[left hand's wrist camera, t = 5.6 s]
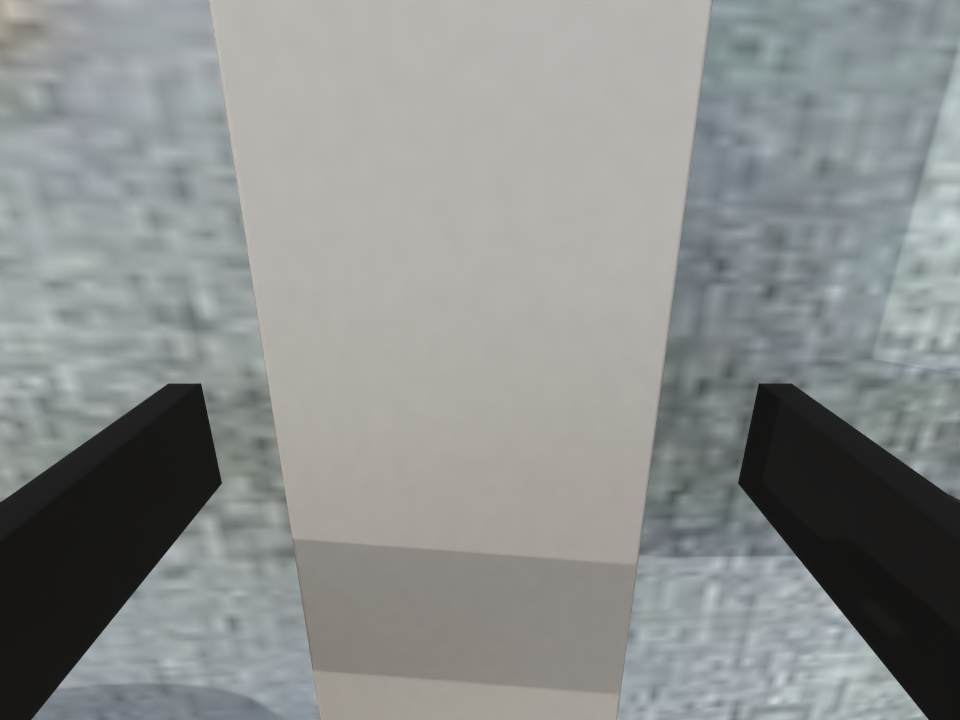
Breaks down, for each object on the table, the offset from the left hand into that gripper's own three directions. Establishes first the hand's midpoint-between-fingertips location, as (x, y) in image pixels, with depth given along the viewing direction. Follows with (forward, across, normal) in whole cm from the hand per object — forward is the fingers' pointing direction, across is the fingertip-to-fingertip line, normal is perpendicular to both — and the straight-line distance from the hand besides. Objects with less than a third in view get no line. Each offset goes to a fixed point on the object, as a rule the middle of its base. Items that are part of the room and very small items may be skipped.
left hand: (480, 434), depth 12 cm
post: (+4, 0, -23) cm, 23 cm away
